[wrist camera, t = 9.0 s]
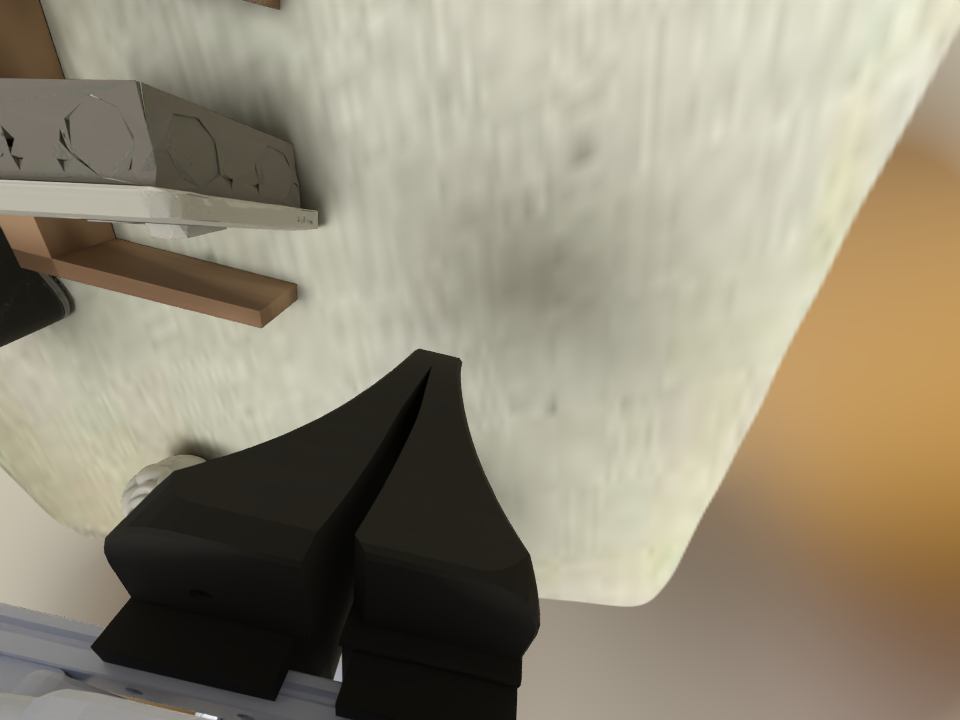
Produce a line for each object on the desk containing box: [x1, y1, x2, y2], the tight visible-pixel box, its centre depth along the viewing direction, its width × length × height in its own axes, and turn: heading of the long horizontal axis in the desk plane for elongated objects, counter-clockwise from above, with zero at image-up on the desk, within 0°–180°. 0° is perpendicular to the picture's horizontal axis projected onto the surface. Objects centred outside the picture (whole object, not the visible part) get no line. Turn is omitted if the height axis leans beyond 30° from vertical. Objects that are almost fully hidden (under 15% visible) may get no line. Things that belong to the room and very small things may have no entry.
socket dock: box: [0, 0, 297, 328], centre depth 16 cm, size 14×12×6 cm
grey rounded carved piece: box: [121, 455, 206, 518], centre depth 30 cm, size 6×7×7 cm
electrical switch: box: [0, 78, 318, 239], centre depth 15 cm, size 9×5×9 cm, turn 89°
